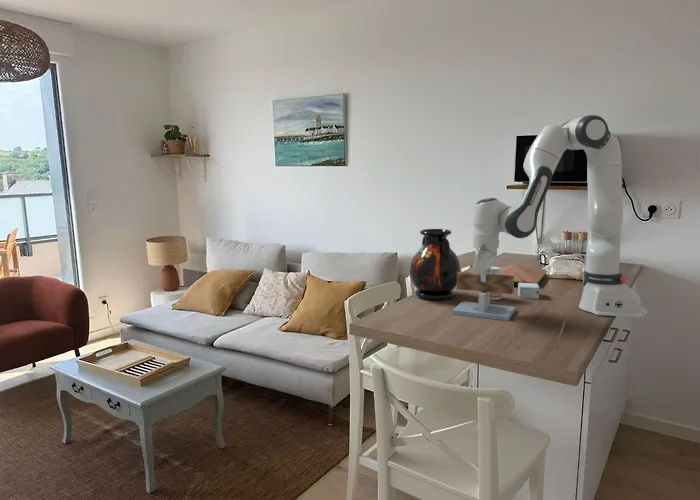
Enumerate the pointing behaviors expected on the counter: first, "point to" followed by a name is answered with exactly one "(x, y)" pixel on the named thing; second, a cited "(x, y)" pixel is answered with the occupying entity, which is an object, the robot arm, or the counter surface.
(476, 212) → the robot arm
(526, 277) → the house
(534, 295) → the small box
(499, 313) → the balance stand
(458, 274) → the wooden block
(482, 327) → the counter surface
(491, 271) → the supplement bottle
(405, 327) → the counter surface
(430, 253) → the amphora vase
